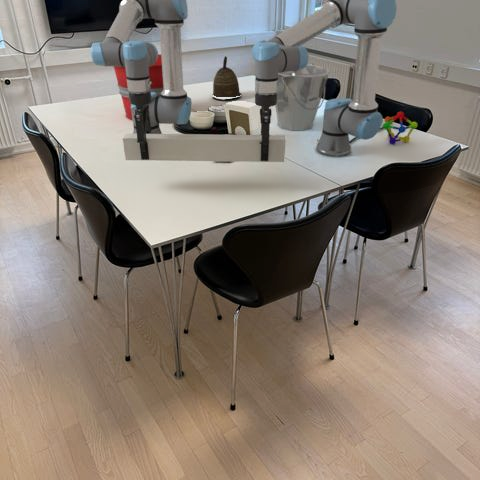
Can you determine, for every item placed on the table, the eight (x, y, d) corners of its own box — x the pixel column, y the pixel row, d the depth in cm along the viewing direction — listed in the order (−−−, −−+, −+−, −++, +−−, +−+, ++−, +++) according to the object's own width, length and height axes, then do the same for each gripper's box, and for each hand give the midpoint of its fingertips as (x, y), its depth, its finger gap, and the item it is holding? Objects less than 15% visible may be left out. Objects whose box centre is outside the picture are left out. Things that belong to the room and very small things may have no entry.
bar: (125, 160, 160) (122, 138, 156) (128, 154, 165) (126, 133, 160) (284, 162, 160) (285, 140, 156) (283, 156, 164) (284, 135, 160)
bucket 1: (125, 105, 263) (118, 51, 247) (184, 106, 262) (180, 52, 246) (109, 123, 234) (99, 63, 218) (175, 124, 233) (170, 64, 217)
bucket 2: (296, 138, 215) (301, 78, 201) (255, 124, 234) (256, 68, 219) (335, 125, 232) (342, 70, 217) (294, 113, 251) (297, 61, 236)
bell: (227, 105, 294) (202, 96, 282) (238, 66, 289) (213, 55, 277) (243, 108, 280) (217, 98, 268) (255, 66, 275) (229, 55, 263)
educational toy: (377, 146, 209) (379, 114, 202) (384, 138, 219) (386, 107, 211) (411, 149, 202) (415, 116, 195) (417, 141, 212) (420, 109, 204)
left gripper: (145, 98, 142) (152, 166, 154) (155, 85, 158) (161, 147, 170) (122, 98, 142) (131, 165, 155) (134, 84, 158) (141, 147, 170)
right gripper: (278, 99, 142) (275, 167, 154) (275, 86, 157) (273, 148, 170) (255, 99, 142) (254, 167, 154) (254, 86, 157) (253, 148, 170)
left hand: (146, 156), depth 162 cm, fingers closed on bar, 5 cm apart
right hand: (264, 157), depth 162 cm, fingers closed on bar, 5 cm apart
